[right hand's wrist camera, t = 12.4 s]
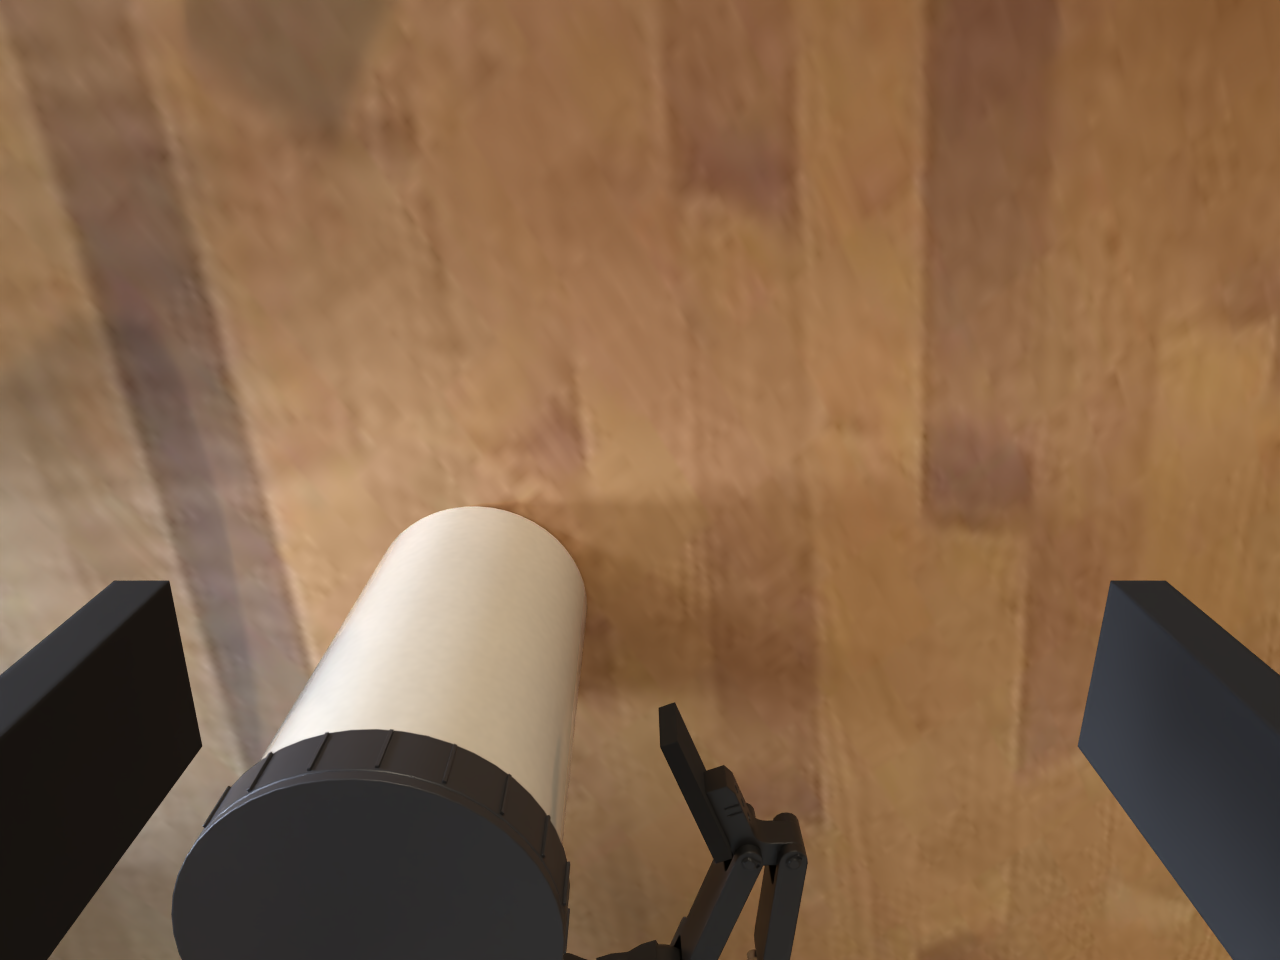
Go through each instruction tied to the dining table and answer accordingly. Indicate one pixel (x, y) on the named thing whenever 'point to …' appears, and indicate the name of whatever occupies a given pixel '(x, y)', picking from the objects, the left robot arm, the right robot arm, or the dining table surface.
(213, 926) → the lid
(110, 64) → the dining table surface
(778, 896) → the left robot arm
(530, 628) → the jar
